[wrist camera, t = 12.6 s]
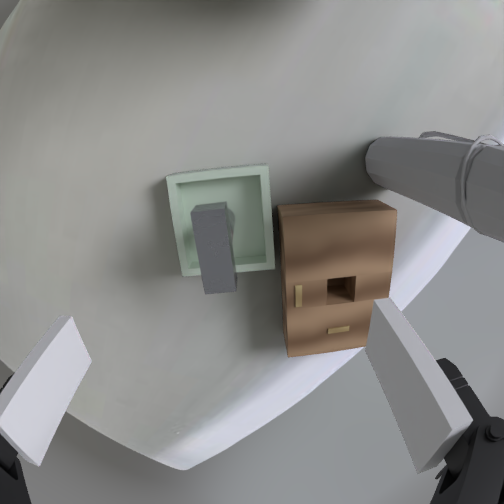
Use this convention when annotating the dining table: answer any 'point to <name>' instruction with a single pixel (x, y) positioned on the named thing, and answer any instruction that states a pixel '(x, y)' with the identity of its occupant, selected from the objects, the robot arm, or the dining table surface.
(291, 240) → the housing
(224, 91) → the dining table surface
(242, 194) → the tray
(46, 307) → the dining table surface
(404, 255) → the dining table surface
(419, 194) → the water bottle
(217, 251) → the t key
